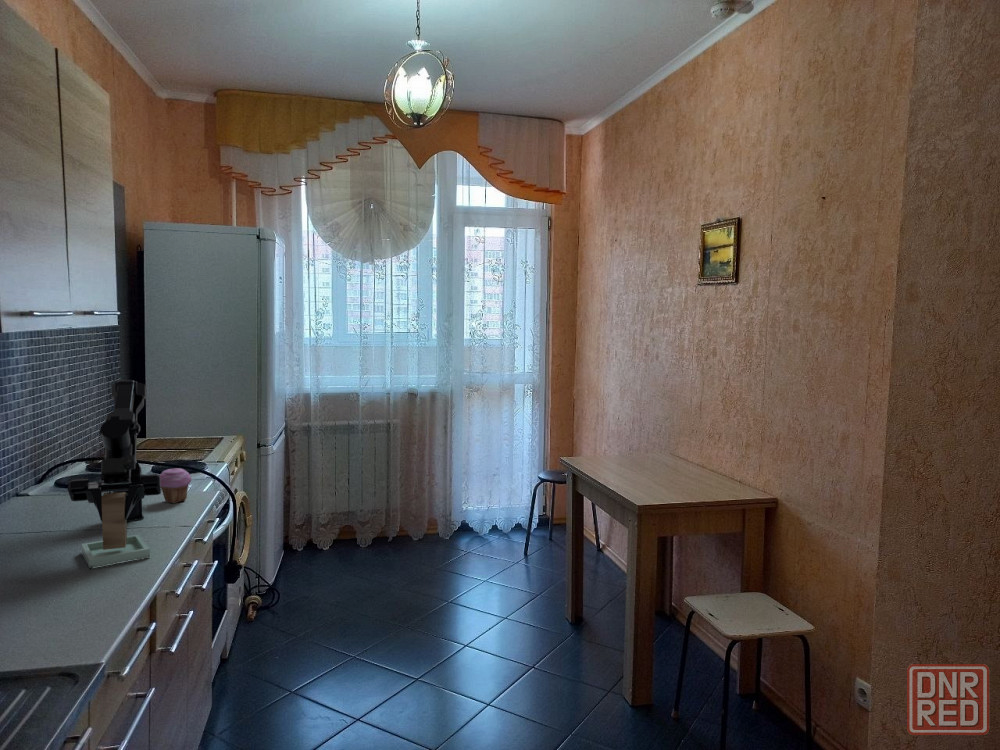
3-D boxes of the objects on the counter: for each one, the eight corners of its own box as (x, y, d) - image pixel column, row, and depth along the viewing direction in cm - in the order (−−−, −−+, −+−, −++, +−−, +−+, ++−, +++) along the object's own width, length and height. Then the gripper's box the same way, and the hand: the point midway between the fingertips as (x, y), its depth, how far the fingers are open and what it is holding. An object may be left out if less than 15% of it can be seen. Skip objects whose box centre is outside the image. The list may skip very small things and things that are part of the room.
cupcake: (171, 507, 192) (170, 473, 190) (151, 502, 195) (150, 469, 194) (197, 499, 199) (197, 467, 198) (178, 495, 203) (177, 463, 202)
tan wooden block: (105, 543, 156) (104, 493, 154) (127, 541, 157) (125, 491, 156) (103, 549, 152) (101, 498, 150) (125, 547, 153) (123, 496, 152)
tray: (139, 542, 163) (138, 534, 163) (149, 558, 154) (149, 548, 154) (81, 553, 155) (81, 544, 155) (89, 569, 146) (89, 560, 146)
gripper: (67, 445, 152) (60, 506, 143) (159, 441, 159) (157, 498, 150) (75, 471, 160) (68, 530, 151) (161, 465, 167) (160, 521, 158)
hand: (113, 519), depth 152 cm, fingers closed on tan wooden block, 4 cm apart
